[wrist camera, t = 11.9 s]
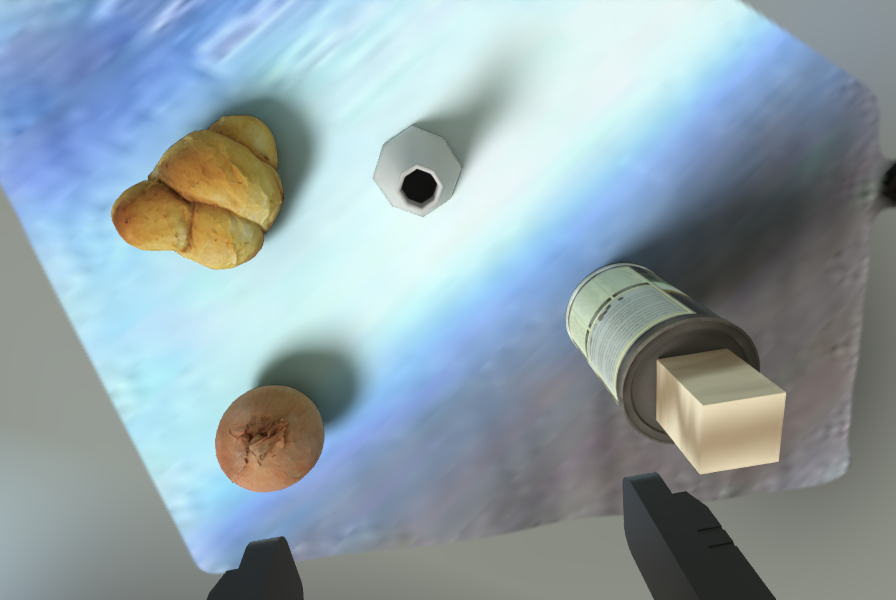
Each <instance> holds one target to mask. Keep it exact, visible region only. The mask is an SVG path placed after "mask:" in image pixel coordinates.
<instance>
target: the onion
mask: <svg viewBox="0 0 896 600" xmlns="http://www.w3.org/2000/svg"><path fill="white" fill-rule="evenodd" d="M323 444H324V426H323V421H322V418H321V415H320V413H319V411H318V409H317V405H315V403H314V402H312V401H311V400H310V399H309V398H308V397H307V396H306V395H305V394H303V393H301V392H300V391H298V390H296V389H294V388H291V387H288V386H281V385H269V386H262V387H257V388H254V389H252V390H250V391H248V392H246V393H245V394H243V395H241V396H240V397H238V398H237V399H236V400H235V401H234V402H233V403H232V404H231V405H230V406H229V408H228V409H227V410H226V412H225V413H224V415H223V417H222V419H221V420H220V423H219V426H218V429H217V433H216V439H215V448H216V456H217V459H218V462H219V464H220V466H221V469H222V470H223V471H224V473H225V474H226V476H227V477H228V478H229V479H230V480H231V481H232V483H236V484H237V485H239V486H240V487H243V488H245V489H248V490H251V491H254V492H272V491H278V490H281V489H284V488H287V487H289V486H291V485H293V484H295V483H297V482H298V481H300V480H301V479H302V478H303V477H304V476H305V475H306V474H307V473H308V472H309V471H310V470H311V469H312V468H313V467H314V466H315V464H316V462H317V461H318V459H319V457H320V455H321V452H322V449H323Z"/></svg>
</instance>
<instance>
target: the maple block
mask: <svg viewBox="0 0 896 600" xmlns="http://www.w3.org/2000/svg"><path fill="white" fill-rule="evenodd" d="M785 397H786V392H785V391H783V390H782V389H781V388H779V387H778V386H777V385H775V384H774V383H773V382H771V381H770V380H769V379H767V378H766V377H765V376H763V375H762V374H761V373H759V372H758V371H757V370H755V369H754V368H753V367H751V366H750V365H749V364H747V363H746V362H745V361H743V360H742V359H740V358H739V357H738V356H736V355H735V354H734V353H732V352H731V351H730V350H728V349H727V348H726V349H720V350H713V351H707V352H701V353H694V354H688V355H682V356H676V357H669V358H663V359H657V404H656V420H657V421H658V423H659V424H660V425H661V426H662V427H663V429H664V430H665V431H666V432H667V434H668V435H669V436H670V437H671V439H672V440H673V441H674V442H675V444H676V445H677V446H678V447H679V449H680V450H681V451H682V452H683V454H684V455H685V456H686V457H687V459H688V460H689V461H690V462H691V464H692V465H693V466H694V467H695V469H696V470H697V471H698V472H699V474H705V473H711V472H717V471H723V470H729V469H735V468H741V467H748V466H754V465H760V464H766V463H772V462H778V460H779V451H780V442H781V433H782V424H783V415H784V406H785Z"/></svg>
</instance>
